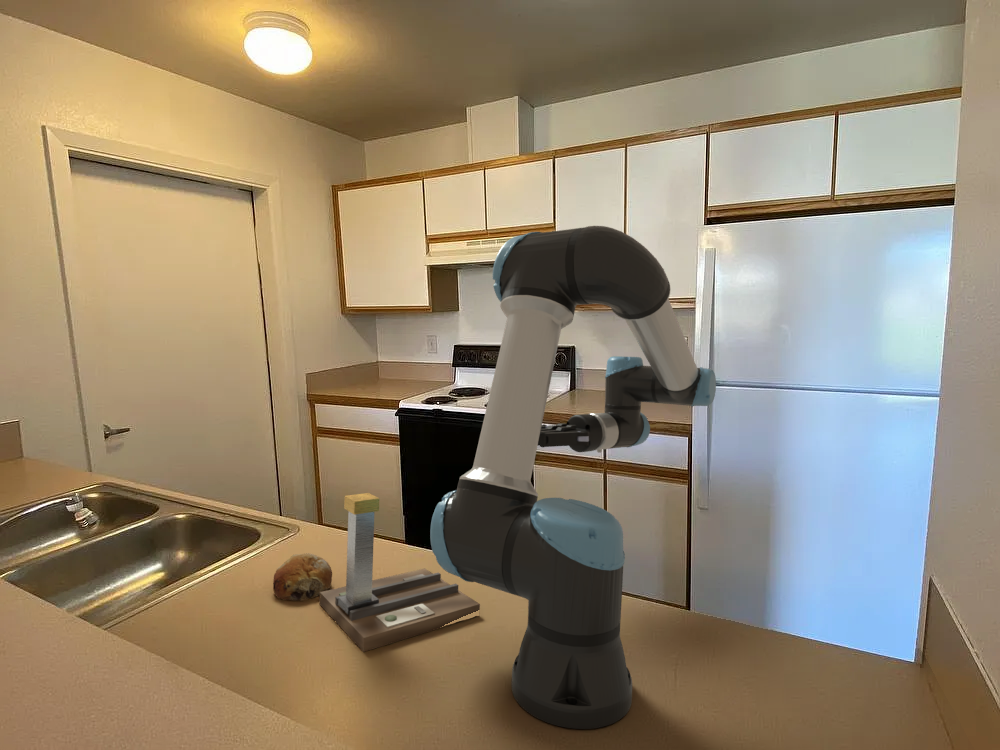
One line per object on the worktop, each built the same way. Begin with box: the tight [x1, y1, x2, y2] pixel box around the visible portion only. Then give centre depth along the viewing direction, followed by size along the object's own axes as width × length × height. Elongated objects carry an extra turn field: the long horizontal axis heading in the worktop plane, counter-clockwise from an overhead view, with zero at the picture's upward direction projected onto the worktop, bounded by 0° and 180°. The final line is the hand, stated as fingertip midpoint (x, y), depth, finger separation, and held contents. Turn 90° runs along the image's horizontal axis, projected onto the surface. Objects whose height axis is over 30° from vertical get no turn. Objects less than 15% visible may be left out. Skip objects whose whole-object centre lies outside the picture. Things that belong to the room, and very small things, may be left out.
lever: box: [338, 492, 380, 615], centre depth 85 cm, size 4×5×17 cm
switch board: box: [319, 568, 481, 653], centre depth 90 cm, size 18×20×3 cm
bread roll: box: [272, 553, 333, 601], centre depth 97 cm, size 10×10×8 cm
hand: (498, 440), depth 96 cm, fingers closed
